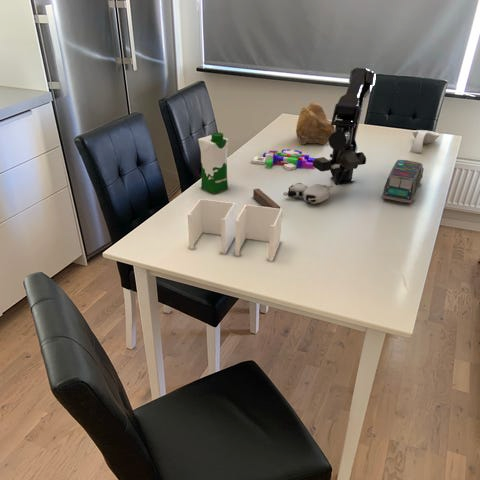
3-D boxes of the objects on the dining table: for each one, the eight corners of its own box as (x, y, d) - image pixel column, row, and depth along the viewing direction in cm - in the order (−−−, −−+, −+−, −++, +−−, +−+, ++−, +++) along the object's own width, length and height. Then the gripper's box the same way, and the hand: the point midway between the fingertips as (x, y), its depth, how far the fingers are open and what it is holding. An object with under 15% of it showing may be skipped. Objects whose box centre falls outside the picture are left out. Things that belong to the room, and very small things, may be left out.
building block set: (319, 155, 204) (320, 144, 201) (311, 173, 188) (312, 161, 185) (262, 149, 209) (262, 138, 206) (249, 165, 194) (250, 154, 191)
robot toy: (280, 202, 169) (320, 209, 162) (280, 190, 166) (321, 196, 159) (296, 190, 177) (334, 196, 170) (296, 178, 174) (335, 184, 168)
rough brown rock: (325, 153, 208) (333, 117, 198) (289, 145, 211) (295, 109, 202) (336, 139, 225) (344, 105, 216) (302, 131, 229) (308, 98, 219)
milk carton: (213, 195, 170) (212, 138, 158) (197, 188, 175) (194, 132, 163) (231, 189, 175) (231, 133, 163) (215, 181, 180) (213, 127, 168)
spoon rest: (413, 135, 226) (417, 120, 221) (439, 139, 221) (443, 123, 217) (402, 151, 209) (406, 134, 205) (430, 155, 205) (434, 138, 200)
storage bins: (279, 242, 145) (282, 209, 138) (272, 260, 136) (274, 226, 130) (201, 231, 150) (200, 198, 143) (189, 248, 141) (187, 214, 135)
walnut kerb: (258, 197, 170) (258, 188, 168) (279, 216, 159) (280, 206, 157) (252, 198, 169) (253, 189, 167) (274, 217, 158) (274, 207, 156)
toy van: (421, 182, 182) (428, 156, 176) (410, 207, 165) (417, 179, 158) (393, 177, 186) (398, 151, 179) (379, 201, 168) (385, 174, 162)
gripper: (332, 152, 153) (326, 197, 163) (379, 144, 159) (371, 189, 169) (314, 141, 161) (309, 185, 170) (359, 134, 167) (352, 177, 177)
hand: (336, 184), depth 171 cm, fingers closed
